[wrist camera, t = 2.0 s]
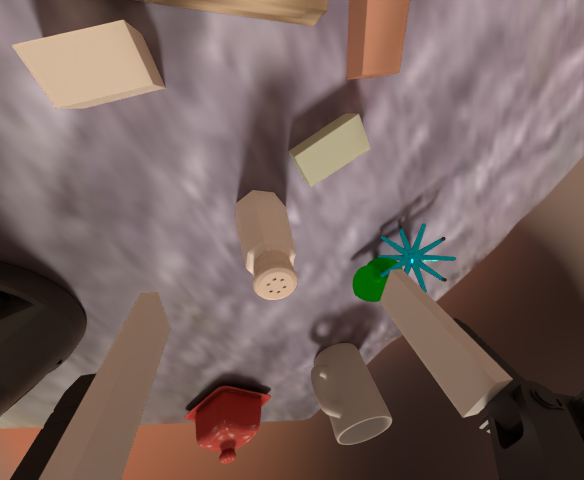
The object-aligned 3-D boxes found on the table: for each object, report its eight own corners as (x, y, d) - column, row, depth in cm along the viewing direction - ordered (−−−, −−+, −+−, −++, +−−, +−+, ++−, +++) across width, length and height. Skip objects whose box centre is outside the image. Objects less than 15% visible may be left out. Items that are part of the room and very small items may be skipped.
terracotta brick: (378, 77, 19) (399, 72, 16) (345, 80, 18) (362, 75, 16) (388, -27, 16) (417, -53, 13) (349, -26, 15) (371, -53, 13)
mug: (366, 348, 41) (404, 418, 31) (336, 373, 43) (363, 445, 34) (320, 332, 35) (349, 411, 26) (288, 363, 38) (305, 444, 29)
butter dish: (235, 418, 44) (235, 478, 37) (182, 410, 39) (169, 478, 32) (273, 388, 42) (281, 446, 34) (221, 375, 36) (218, 441, 29)
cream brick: (84, 108, 16) (56, 108, 13) (51, 56, 14) (11, 45, 12) (166, 88, 16) (153, 84, 14) (142, 35, 15) (123, 19, 12)
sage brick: (302, 178, 22) (310, 187, 19) (287, 151, 20) (294, 156, 18) (354, 143, 21) (370, 148, 19) (343, 113, 20) (358, 113, 17)
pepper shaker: (291, 228, 24) (323, 301, 15) (243, 242, 24) (248, 326, 15) (279, 181, 21) (311, 236, 12) (225, 197, 21) (216, 265, 12)
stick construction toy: (421, 207, 25) (476, 265, 22) (417, 221, 31) (459, 268, 28) (334, 266, 28) (372, 324, 25) (346, 268, 34) (377, 314, 31)
